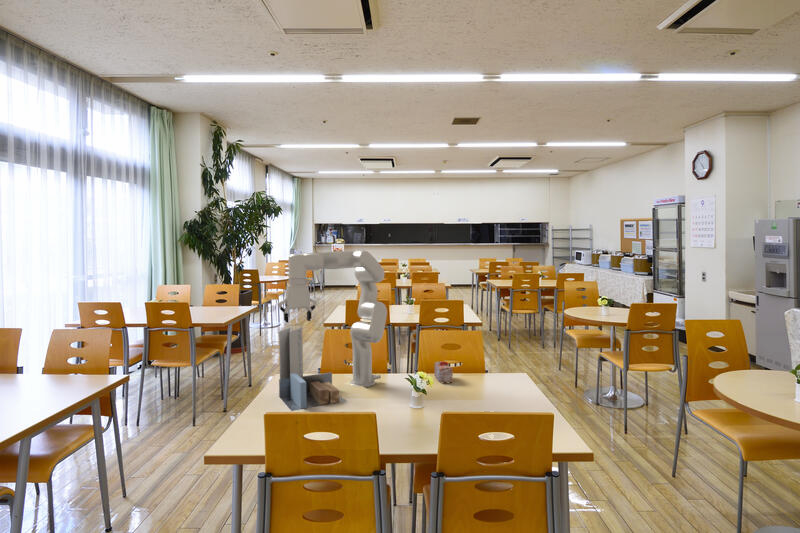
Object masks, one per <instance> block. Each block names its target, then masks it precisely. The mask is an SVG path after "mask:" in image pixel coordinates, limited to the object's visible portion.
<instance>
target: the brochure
mask: <svg viewBox="0 0 800 533" xmlns="http://www.w3.org/2000/svg"><path fill="white" fill-rule="evenodd" d="M278 342H279V343H278V344H279V346H278V348H279V351H278V352H279V379H286V378H290V374H293V373H296V374H297V375H299V376H300V377H301V376H304V364H303V363H304V355H303V353H304V352H303V342H304V341H303V326H299V327H298V328H295V329H293V326H289V327H287V328H284V329H281V330H279V331H278Z"/></svg>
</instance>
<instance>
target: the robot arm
mask: <svg viewBox="0 0 800 533" xmlns="http://www.w3.org/2000/svg"><path fill="white" fill-rule="evenodd" d="M341 269H342V270H343V269H354V276H355V279H356V280H357V281H358V284H359V286H360V296H359V299H358V300H359V301H358V307H357V316H358V318H360V319H363V320H368V321H369V320H370V322H368V321H356V322H354V323H353V324H352V325H351V327H350V330H349V331H350V332H349V333H350V338H351V344H352V345H351V346H352V380H350V382H349V384H350V385H351V386H356V387H364V388H370V387H372V386H374V385H375V383H376V381H375V380H379V379H381V374H373V372H372V370H373V368H372V366H373V365H372V364H373V359H372V358H373V356H372V354H373V352H372V344H376V343H379V342H380V341H381V340H382V338H383V336H384V332H385V327H386V323H387V322H386V321H387V316H388V309H387V307H386V305H385V304H384V303H383V302H381V301H378V290H379V289H378V286H377V285H376V283H380V282H382V281H383V280H384V278H385V270H384V267H383V266H382V265H381V264H380V263H379V261H378V260H377V259H376V258H375V257H374V256H373V255H372V254H371V253H370V252H368V250H364V249H363V250H362V249H361V250H359V249H358V250H354V249H353V250H337V251H336V250H334V251H325V252H309V253H308V252H306V253H299V254H298V253H295V254H294V253H292V254H290V255H289V256H288V285H286V288H285V296H284V299H283V300H280V301H279V302H277V306H278V308H279V310H280V311H281V312H282V313H283V321H284V322H285V323H289V313H288V312H289V311H290V310H292V309H296V310H297V309H306V310H307V311H306V321H308V322H311V319H312V313H313V310H315V308H316V306H317V304H318V301H316V300H315V299H313V298H311V297H310V290H309V286H308V285H307V284H308V283H310V282H311V281H310V279H307V271H319V270H341ZM311 303H312V305H311V306H310V304H311ZM283 305H285V308H284V307H283ZM371 343H372V344H371Z"/></svg>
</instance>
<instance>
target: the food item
mask: <svg viewBox="0 0 800 533" xmlns="http://www.w3.org/2000/svg"><path fill="white" fill-rule="evenodd" d="M435 376H436V377H435ZM434 377H435V378H436V381H437V380H438V382H440V383H441V382H452V383H453V368H452V367H451V366H450V364H449V363H448V362H447V361H445V360H444V361H436V362H434Z"/></svg>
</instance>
